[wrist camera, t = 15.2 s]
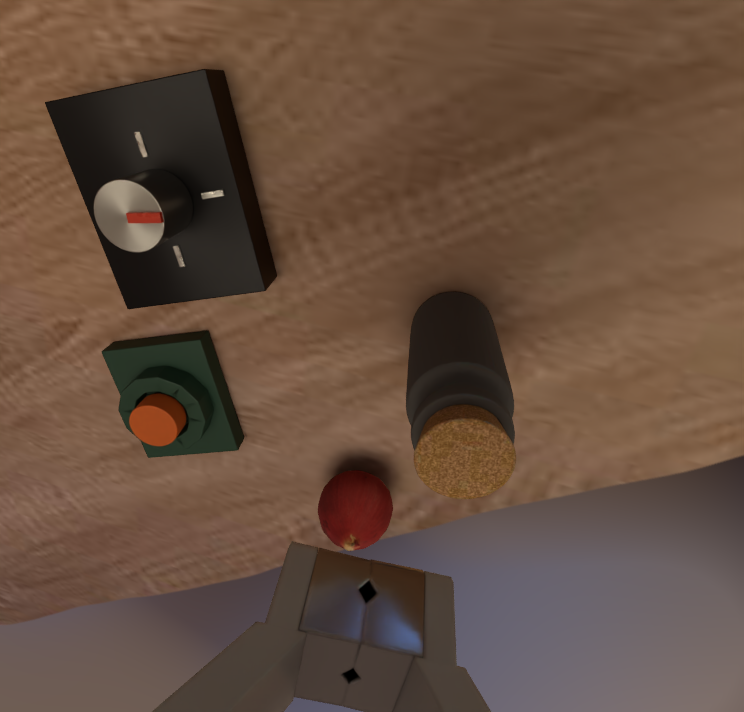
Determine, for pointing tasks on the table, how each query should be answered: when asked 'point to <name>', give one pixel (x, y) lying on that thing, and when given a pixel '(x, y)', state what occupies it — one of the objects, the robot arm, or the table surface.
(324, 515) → the red oval fruit
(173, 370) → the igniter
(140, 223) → the hob knob
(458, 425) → the bottle
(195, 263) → the panel
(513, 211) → the table surface
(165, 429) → the button
